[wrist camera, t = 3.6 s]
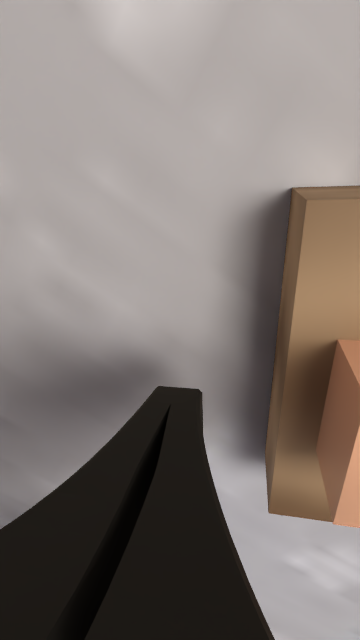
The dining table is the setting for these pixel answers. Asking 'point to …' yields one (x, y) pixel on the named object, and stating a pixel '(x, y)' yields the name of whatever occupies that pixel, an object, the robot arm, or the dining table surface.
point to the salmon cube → (342, 436)
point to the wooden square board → (310, 341)
